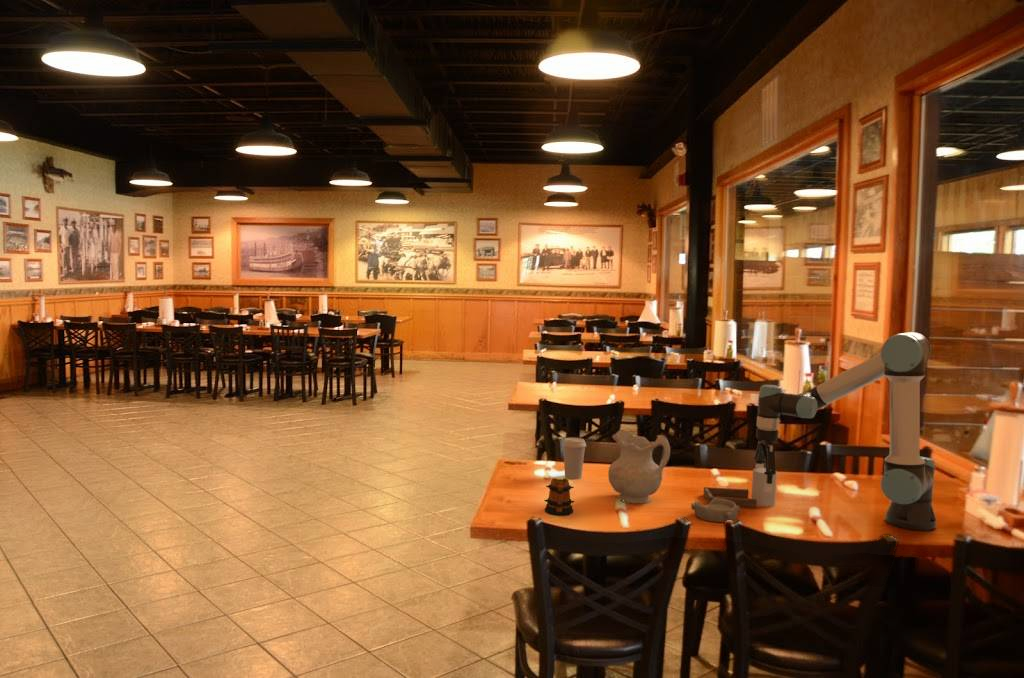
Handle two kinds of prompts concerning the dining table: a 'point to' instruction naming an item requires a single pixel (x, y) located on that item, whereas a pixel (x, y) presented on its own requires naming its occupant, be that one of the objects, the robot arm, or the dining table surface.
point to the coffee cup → (573, 457)
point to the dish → (716, 510)
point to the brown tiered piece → (559, 498)
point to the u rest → (729, 492)
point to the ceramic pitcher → (637, 467)
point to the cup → (762, 488)
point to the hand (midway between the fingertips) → (763, 486)
